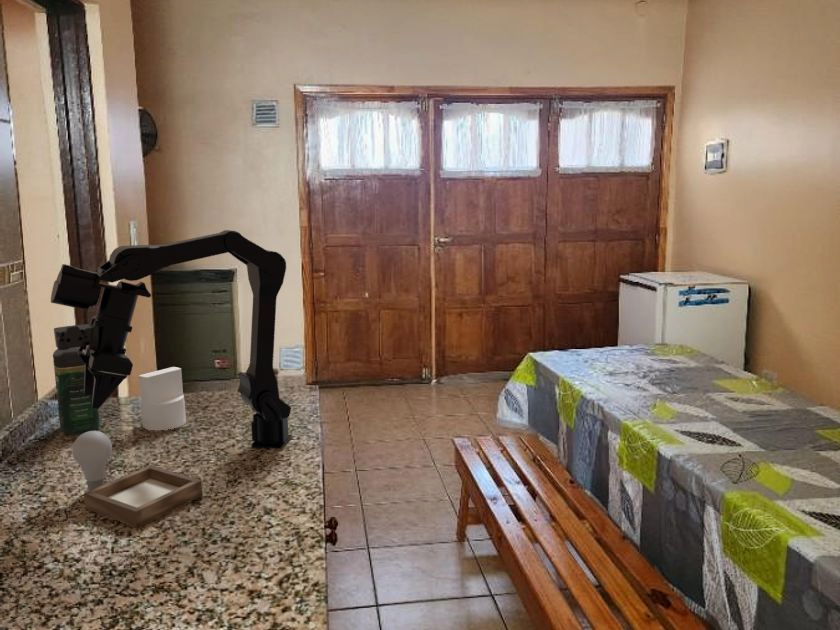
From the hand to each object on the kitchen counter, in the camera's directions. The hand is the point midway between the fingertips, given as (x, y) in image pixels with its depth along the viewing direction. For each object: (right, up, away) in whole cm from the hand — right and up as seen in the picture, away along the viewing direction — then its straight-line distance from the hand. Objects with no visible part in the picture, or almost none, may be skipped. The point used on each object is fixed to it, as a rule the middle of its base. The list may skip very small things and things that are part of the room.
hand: (91, 401), depth 119 cm
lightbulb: (+2, -16, -2) cm, 16 cm away
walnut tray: (+12, -16, -6) cm, 21 cm away
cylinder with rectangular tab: (+1, -9, +32) cm, 34 cm away
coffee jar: (-17, -10, +30) cm, 36 cm away
